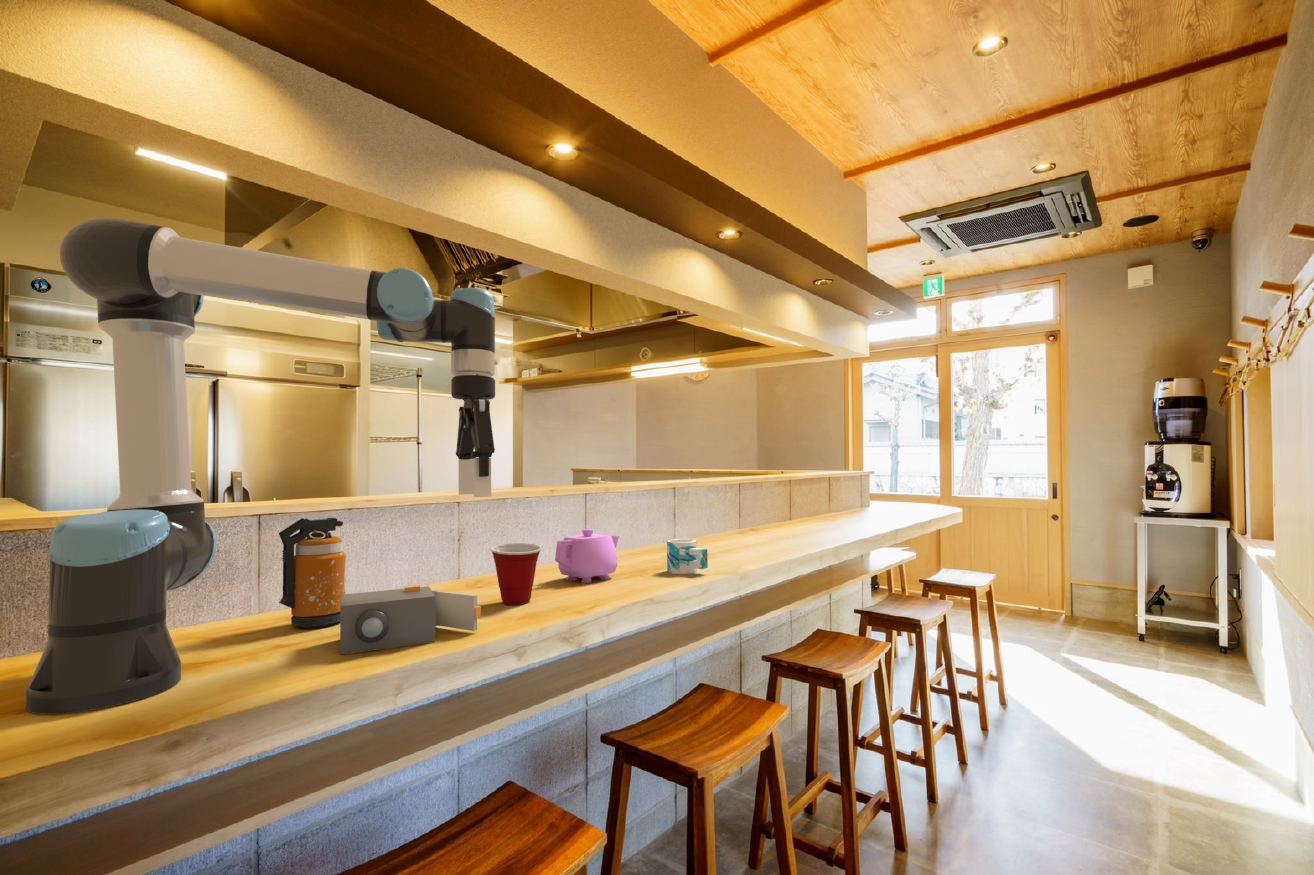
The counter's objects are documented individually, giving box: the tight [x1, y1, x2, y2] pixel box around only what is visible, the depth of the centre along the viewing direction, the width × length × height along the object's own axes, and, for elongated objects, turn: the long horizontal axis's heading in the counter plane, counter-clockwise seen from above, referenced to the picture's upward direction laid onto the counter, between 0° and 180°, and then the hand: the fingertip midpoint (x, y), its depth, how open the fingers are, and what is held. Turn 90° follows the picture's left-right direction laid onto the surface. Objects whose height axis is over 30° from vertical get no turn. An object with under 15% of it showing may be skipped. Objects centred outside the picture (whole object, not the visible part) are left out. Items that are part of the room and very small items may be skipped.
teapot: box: [554, 528, 619, 584], centre depth 157 cm, size 20×12×13 cm, turn 136°
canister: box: [278, 517, 347, 629], centre depth 115 cm, size 9×11×20 cm
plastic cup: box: [489, 542, 543, 606], centre depth 130 cm, size 11×11×12 cm
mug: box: [666, 538, 708, 575], centre depth 164 cm, size 8×12×8 cm
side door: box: [432, 589, 482, 632], centre depth 109 cm, size 2×11×6 cm, turn 61°
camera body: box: [339, 584, 436, 656], centre depth 102 cm, size 14×12×8 cm
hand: (474, 495), depth 108 cm, fingers open, 13 cm apart
